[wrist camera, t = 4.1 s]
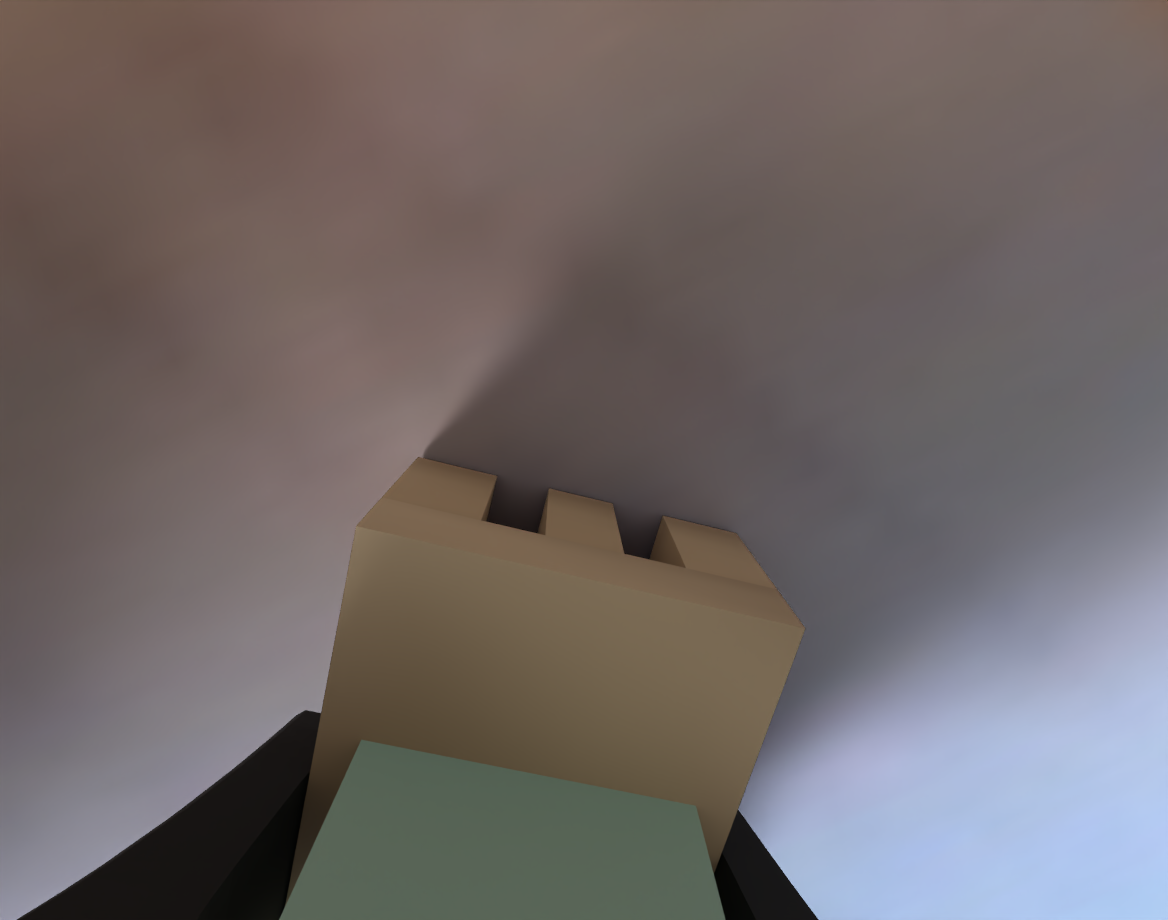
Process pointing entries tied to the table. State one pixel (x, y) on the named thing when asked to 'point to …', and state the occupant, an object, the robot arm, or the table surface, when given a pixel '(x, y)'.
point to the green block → (498, 848)
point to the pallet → (552, 649)
